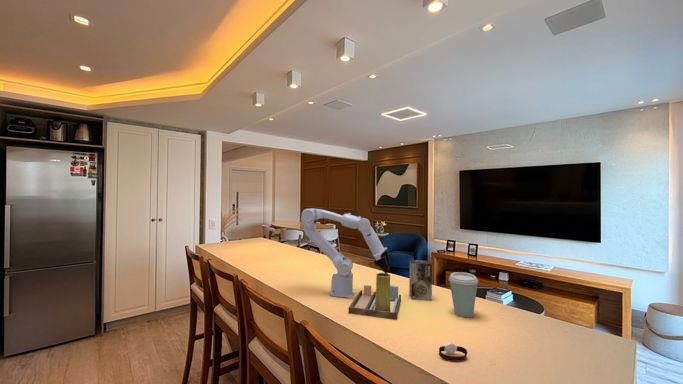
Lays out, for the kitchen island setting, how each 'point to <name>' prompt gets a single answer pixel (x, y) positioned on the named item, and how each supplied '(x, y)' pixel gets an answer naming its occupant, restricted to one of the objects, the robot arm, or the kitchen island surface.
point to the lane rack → (373, 313)
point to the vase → (382, 292)
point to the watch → (451, 349)
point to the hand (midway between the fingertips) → (388, 269)
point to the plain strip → (364, 297)
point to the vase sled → (392, 297)
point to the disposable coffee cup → (463, 293)
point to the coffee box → (420, 280)
